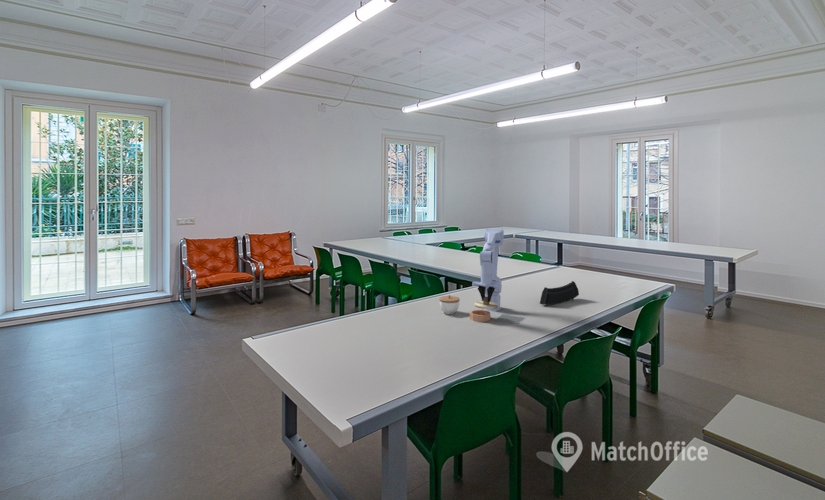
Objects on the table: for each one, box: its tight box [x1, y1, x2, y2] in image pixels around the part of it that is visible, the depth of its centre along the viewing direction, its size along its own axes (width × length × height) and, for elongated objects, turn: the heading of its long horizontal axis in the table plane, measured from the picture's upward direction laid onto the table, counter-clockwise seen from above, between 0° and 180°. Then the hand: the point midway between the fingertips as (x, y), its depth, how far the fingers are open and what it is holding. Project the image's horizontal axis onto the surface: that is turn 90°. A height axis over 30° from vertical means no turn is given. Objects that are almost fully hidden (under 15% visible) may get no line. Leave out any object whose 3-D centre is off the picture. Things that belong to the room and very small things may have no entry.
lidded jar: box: [439, 294, 460, 315], centre depth 228 cm, size 11×11×9 cm
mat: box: [494, 313, 526, 325], centre depth 215 cm, size 12×12×1 cm
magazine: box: [539, 280, 580, 306], centre depth 247 cm, size 17×3×30 cm
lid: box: [473, 297, 498, 310], centre depth 215 cm, size 12×12×4 cm
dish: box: [469, 309, 491, 323], centre depth 216 cm, size 10×10×4 cm
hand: (486, 301), depth 215 cm, fingers closed on lid, 2 cm apart
